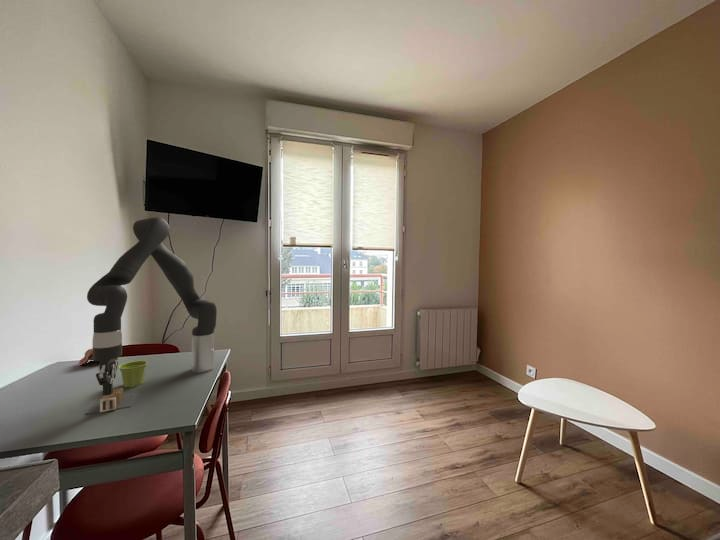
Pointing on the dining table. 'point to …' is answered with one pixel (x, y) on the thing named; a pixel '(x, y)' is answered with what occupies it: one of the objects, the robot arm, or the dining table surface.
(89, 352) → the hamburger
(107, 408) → the tan wooden block
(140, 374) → the plant pot
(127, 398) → the mat
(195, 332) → the robot arm
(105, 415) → the dining table surface
